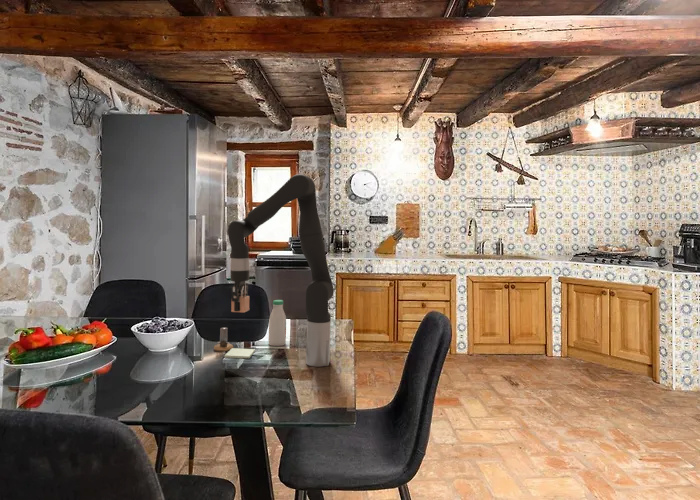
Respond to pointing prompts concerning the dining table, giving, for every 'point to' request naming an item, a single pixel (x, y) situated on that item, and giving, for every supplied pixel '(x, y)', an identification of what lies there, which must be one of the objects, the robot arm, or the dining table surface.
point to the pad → (240, 353)
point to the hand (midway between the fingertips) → (239, 309)
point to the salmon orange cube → (241, 304)
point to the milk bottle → (277, 324)
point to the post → (223, 342)
